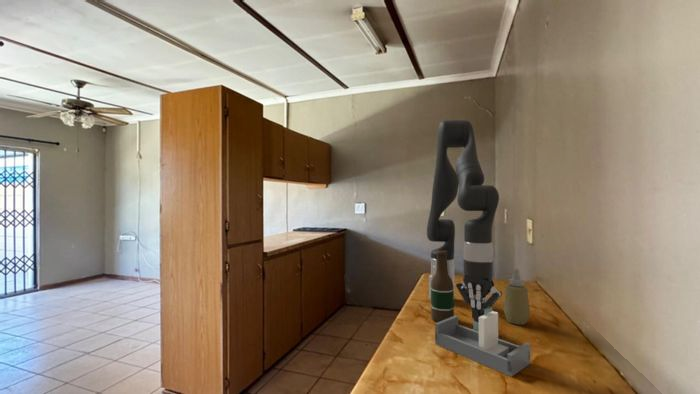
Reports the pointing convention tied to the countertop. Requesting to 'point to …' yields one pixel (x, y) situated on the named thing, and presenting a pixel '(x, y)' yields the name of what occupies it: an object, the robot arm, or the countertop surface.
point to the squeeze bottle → (516, 300)
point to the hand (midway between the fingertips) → (478, 321)
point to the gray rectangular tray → (468, 346)
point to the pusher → (490, 334)
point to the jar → (476, 324)
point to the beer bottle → (442, 290)
